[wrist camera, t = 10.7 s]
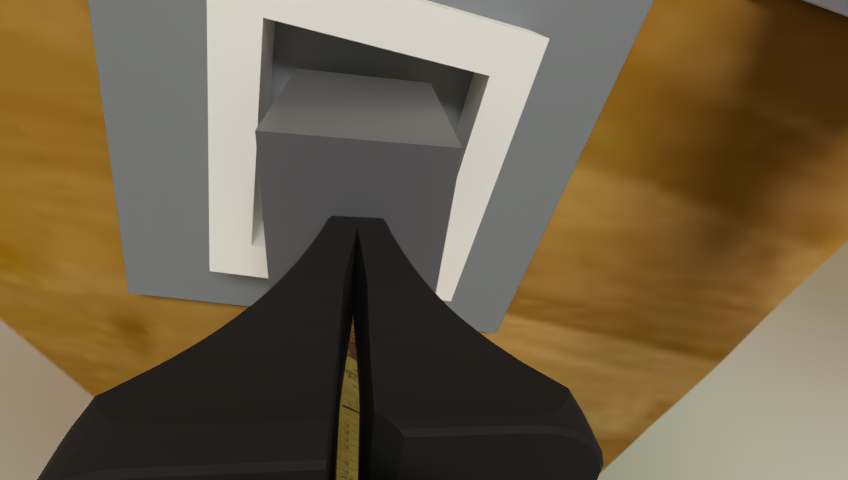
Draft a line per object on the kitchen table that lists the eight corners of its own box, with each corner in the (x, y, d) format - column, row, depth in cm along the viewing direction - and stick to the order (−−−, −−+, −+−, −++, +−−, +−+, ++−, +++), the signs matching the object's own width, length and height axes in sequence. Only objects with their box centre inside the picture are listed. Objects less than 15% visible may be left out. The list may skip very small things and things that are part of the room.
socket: (658, -51, 15) (719, -54, 12) (490, 318, 24) (505, 362, 22) (76, -264, 11) (-16, -335, 8) (140, 276, 20) (106, 324, 18)
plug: (426, 75, 15) (462, 148, 9) (410, 205, 18) (429, 324, 12) (301, 61, 15) (255, 130, 9) (305, 199, 18) (272, 321, 12)
